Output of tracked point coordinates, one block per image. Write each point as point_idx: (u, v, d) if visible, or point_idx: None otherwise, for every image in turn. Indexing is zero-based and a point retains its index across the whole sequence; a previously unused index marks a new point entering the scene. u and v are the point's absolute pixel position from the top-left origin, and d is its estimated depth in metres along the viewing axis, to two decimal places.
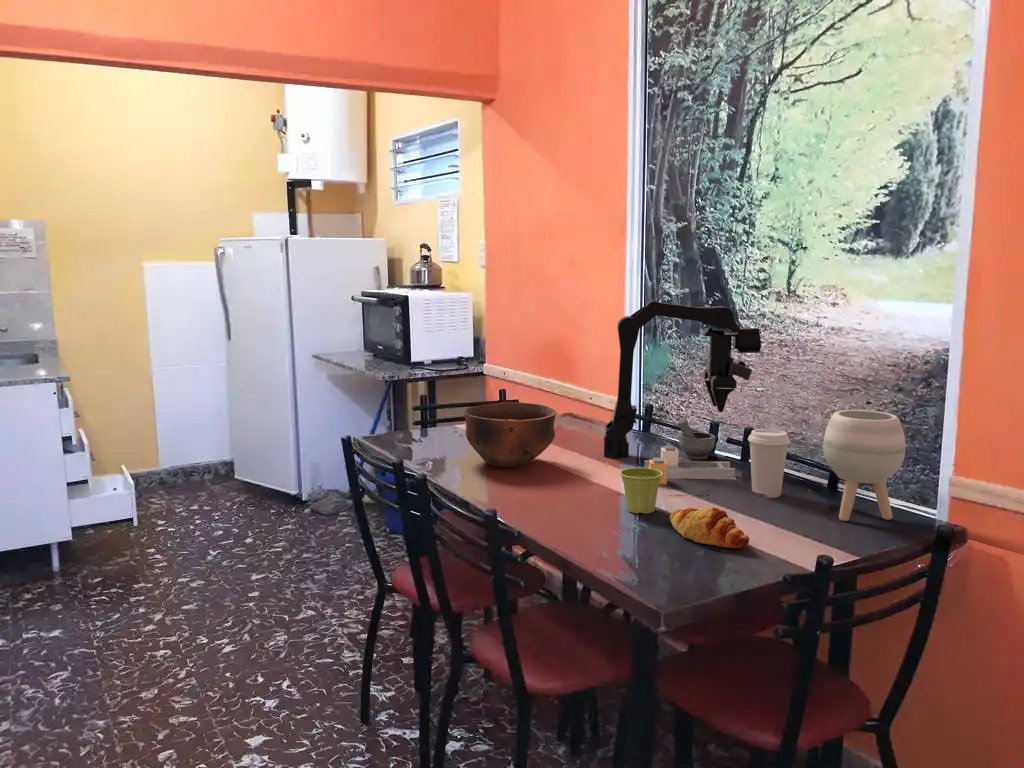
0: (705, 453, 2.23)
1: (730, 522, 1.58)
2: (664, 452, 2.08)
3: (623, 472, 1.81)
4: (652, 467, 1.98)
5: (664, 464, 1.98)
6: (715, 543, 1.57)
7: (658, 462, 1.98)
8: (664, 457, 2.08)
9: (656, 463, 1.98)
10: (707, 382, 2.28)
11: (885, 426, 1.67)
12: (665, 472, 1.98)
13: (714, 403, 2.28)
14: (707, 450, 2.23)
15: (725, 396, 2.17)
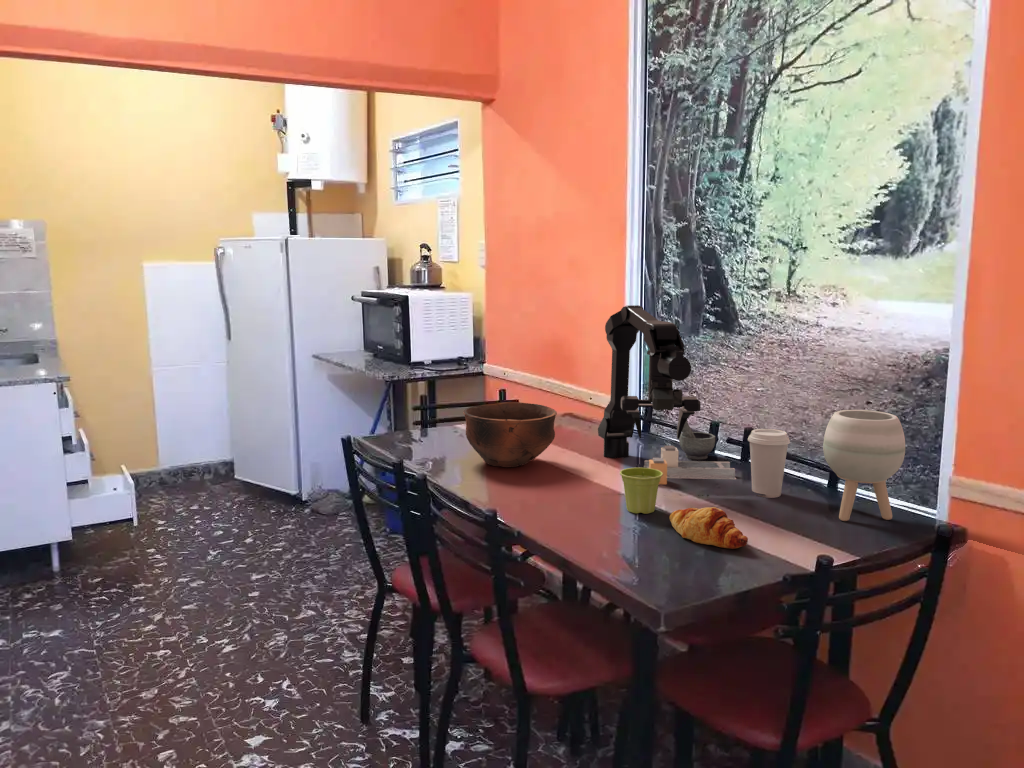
0: (705, 453, 2.23)
1: (729, 522, 1.58)
2: (664, 452, 2.08)
3: (623, 472, 1.81)
4: (652, 467, 1.98)
5: (664, 464, 1.98)
6: (714, 543, 1.57)
7: (658, 462, 1.98)
8: (664, 457, 2.08)
9: (656, 463, 1.98)
10: (679, 410, 2.00)
11: (885, 426, 1.67)
12: (665, 472, 1.98)
13: (677, 435, 1.99)
14: (707, 450, 2.23)
15: None
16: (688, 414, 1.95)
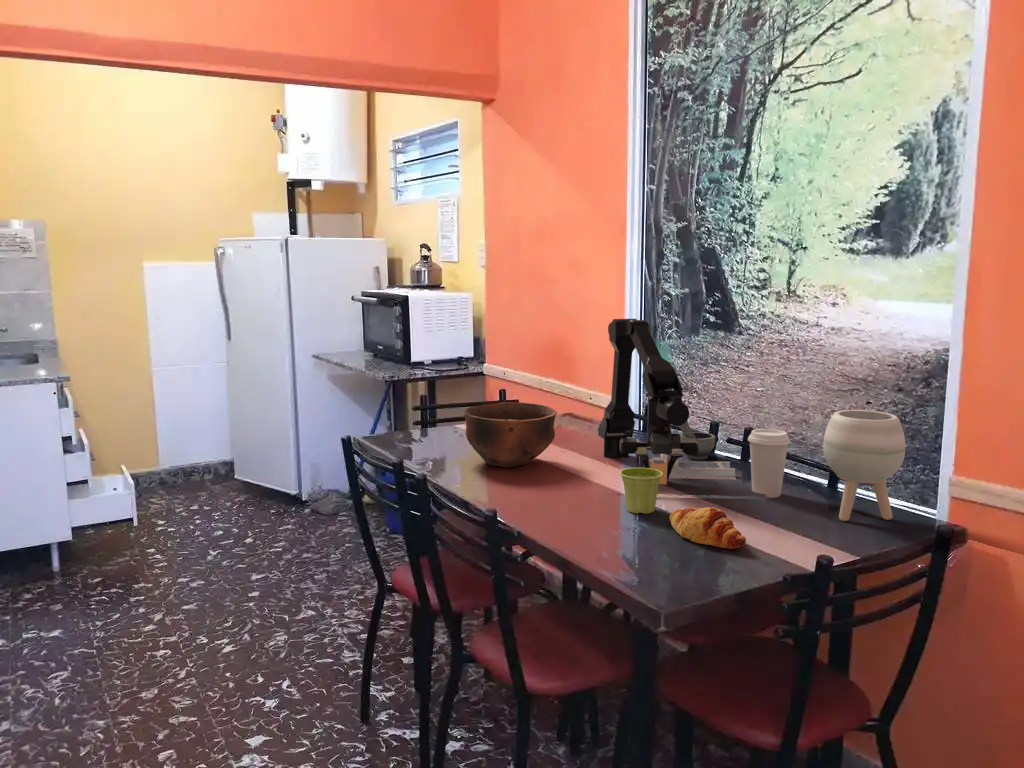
0: (705, 453, 2.23)
1: (728, 522, 1.58)
2: None
3: (623, 472, 1.81)
4: (652, 467, 1.98)
5: (664, 464, 1.98)
6: (712, 543, 1.57)
7: (658, 462, 1.98)
8: (664, 457, 2.08)
9: (656, 463, 1.98)
10: None
11: (885, 426, 1.67)
12: (665, 472, 1.98)
13: None
14: (707, 450, 2.23)
15: None
16: (676, 457, 1.97)
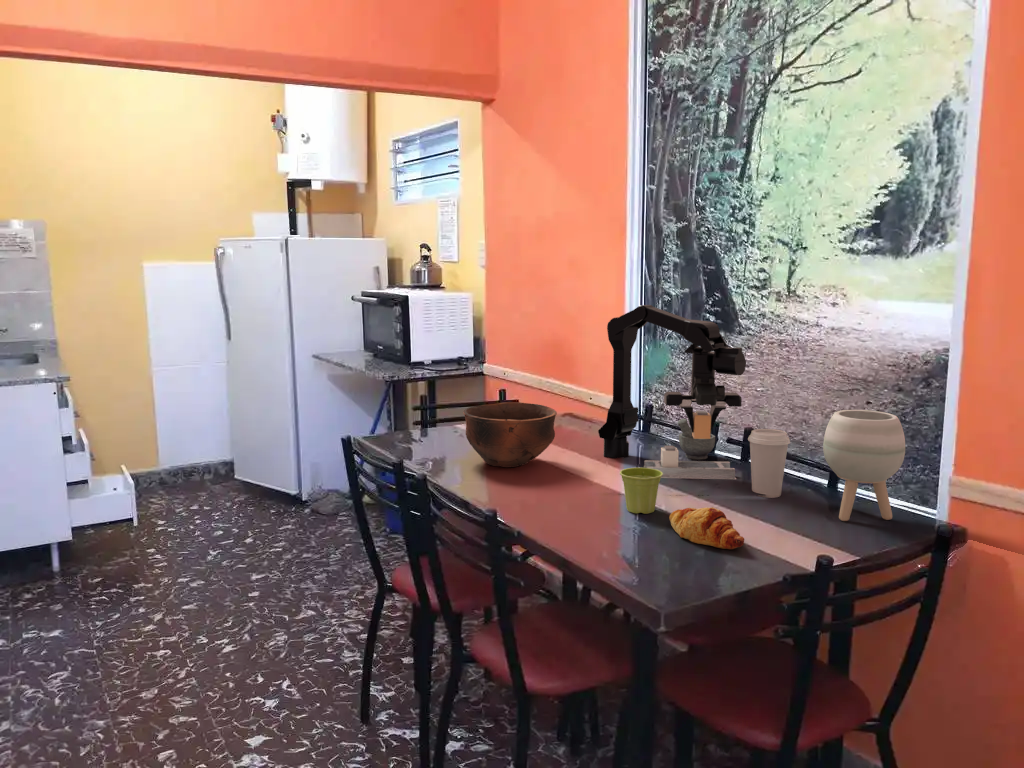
0: (705, 453, 2.23)
1: (726, 523, 1.58)
2: (664, 452, 2.08)
3: (623, 472, 1.81)
4: (696, 419, 2.05)
5: (708, 416, 2.05)
6: (710, 543, 1.57)
7: (702, 414, 2.06)
8: (664, 457, 2.08)
9: (700, 415, 2.05)
10: (711, 405, 2.09)
11: (885, 426, 1.67)
12: (709, 424, 2.05)
13: None
14: (707, 450, 2.23)
15: None
16: (720, 409, 2.04)
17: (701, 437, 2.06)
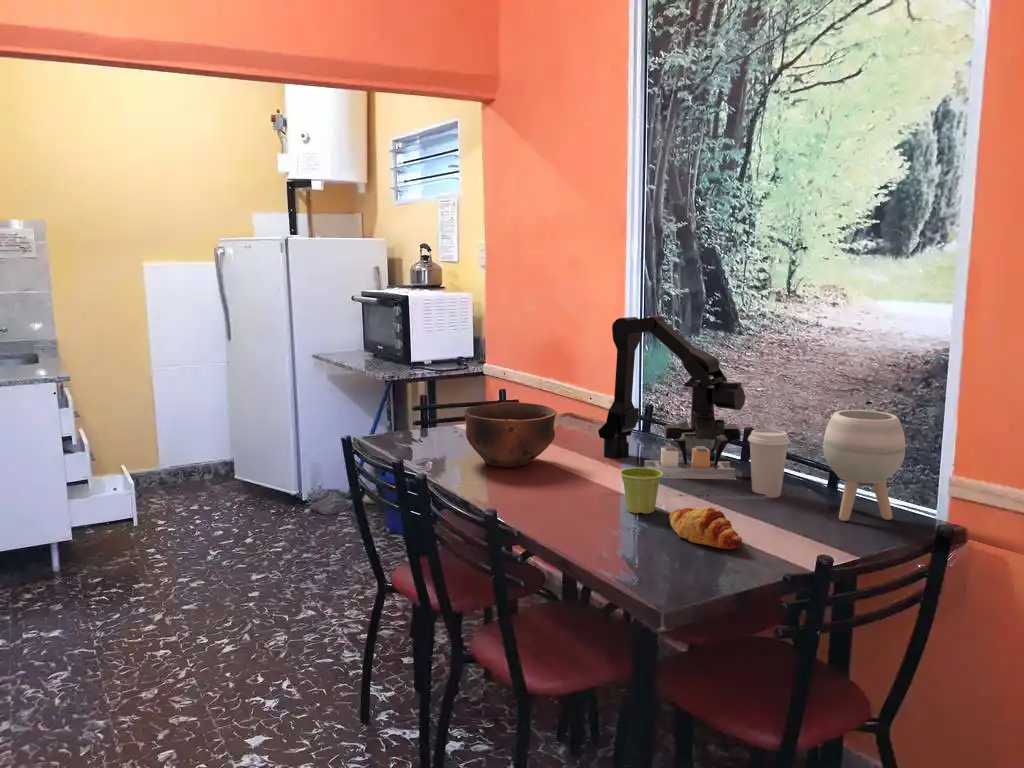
0: None
1: (725, 523, 1.58)
2: (664, 452, 2.08)
3: (623, 472, 1.81)
4: (695, 455, 2.07)
5: (707, 452, 2.07)
6: (708, 543, 1.57)
7: (701, 450, 2.07)
8: (664, 457, 2.08)
9: (699, 451, 2.07)
10: (716, 438, 2.10)
11: (885, 426, 1.67)
12: (708, 460, 2.07)
13: (714, 461, 2.09)
14: None
15: None
16: (726, 442, 2.05)
17: None
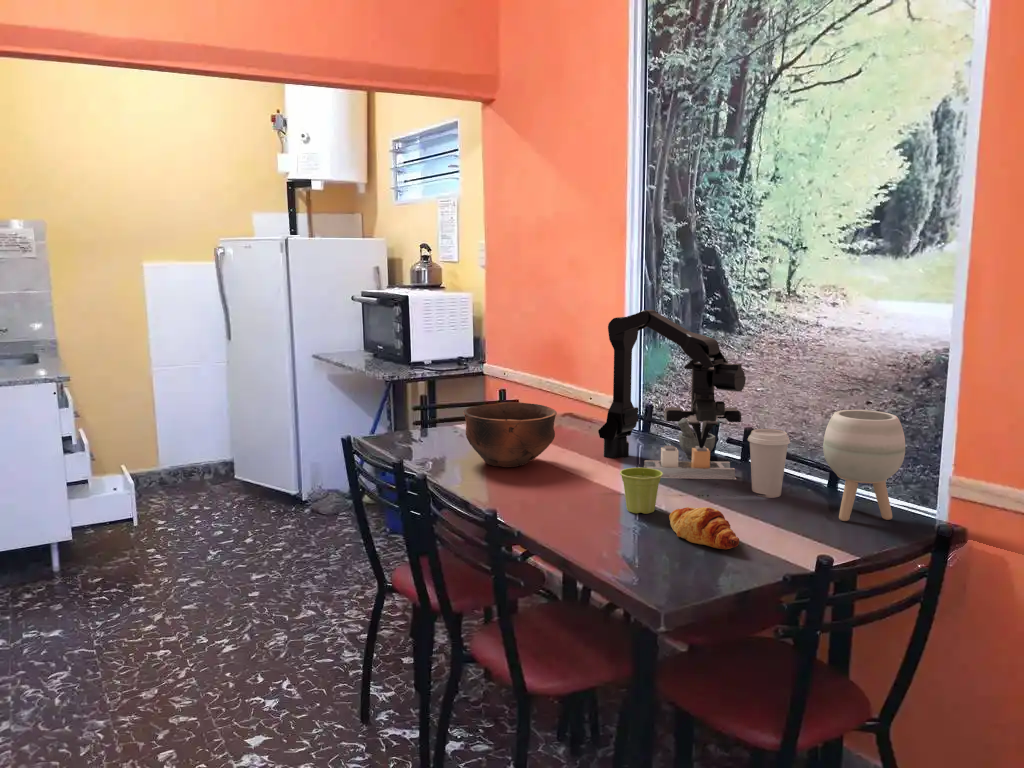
0: None
1: (722, 523, 1.57)
2: (664, 452, 2.08)
3: (623, 472, 1.81)
4: (695, 455, 2.07)
5: (707, 452, 2.07)
6: (706, 543, 1.57)
7: (701, 450, 2.07)
8: (664, 457, 2.08)
9: (699, 451, 2.07)
10: (703, 420, 2.10)
11: (885, 426, 1.67)
12: (708, 460, 2.07)
13: None
14: None
15: None
16: (712, 424, 2.05)
17: None
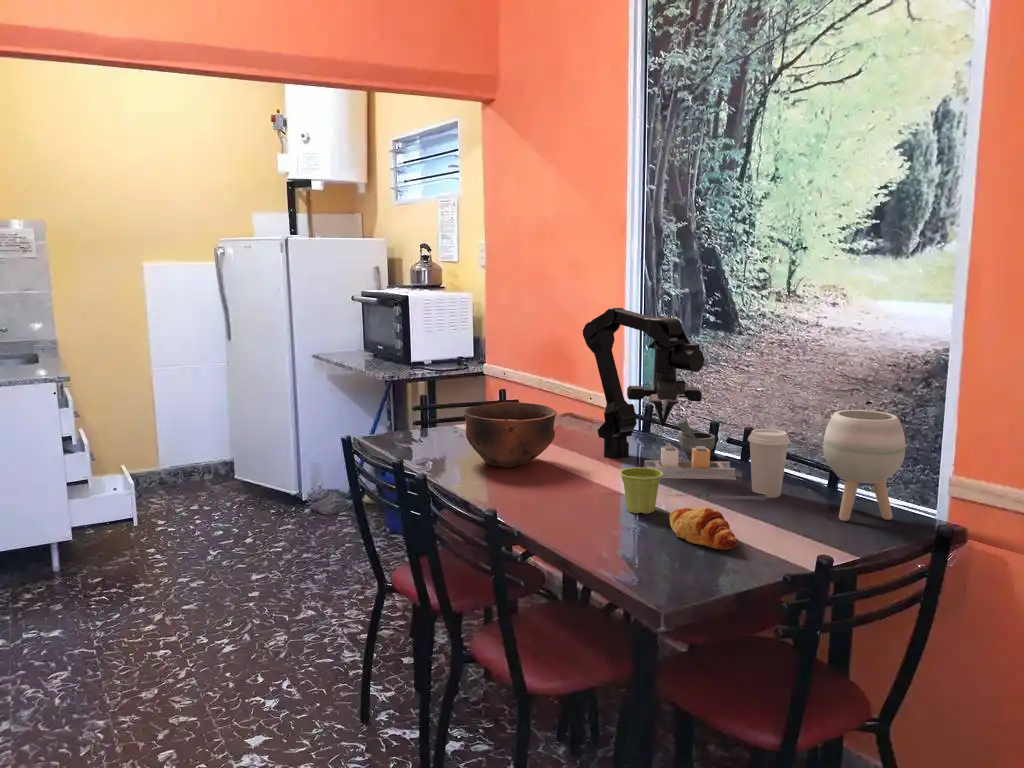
0: None
1: (721, 523, 1.57)
2: (664, 452, 2.08)
3: (623, 472, 1.81)
4: (695, 455, 2.07)
5: (707, 452, 2.07)
6: (704, 543, 1.57)
7: (701, 450, 2.07)
8: (664, 457, 2.08)
9: (699, 451, 2.07)
10: (665, 399, 2.14)
11: (885, 426, 1.67)
12: (708, 460, 2.07)
13: None
14: None
15: None
16: (673, 403, 2.09)
17: None
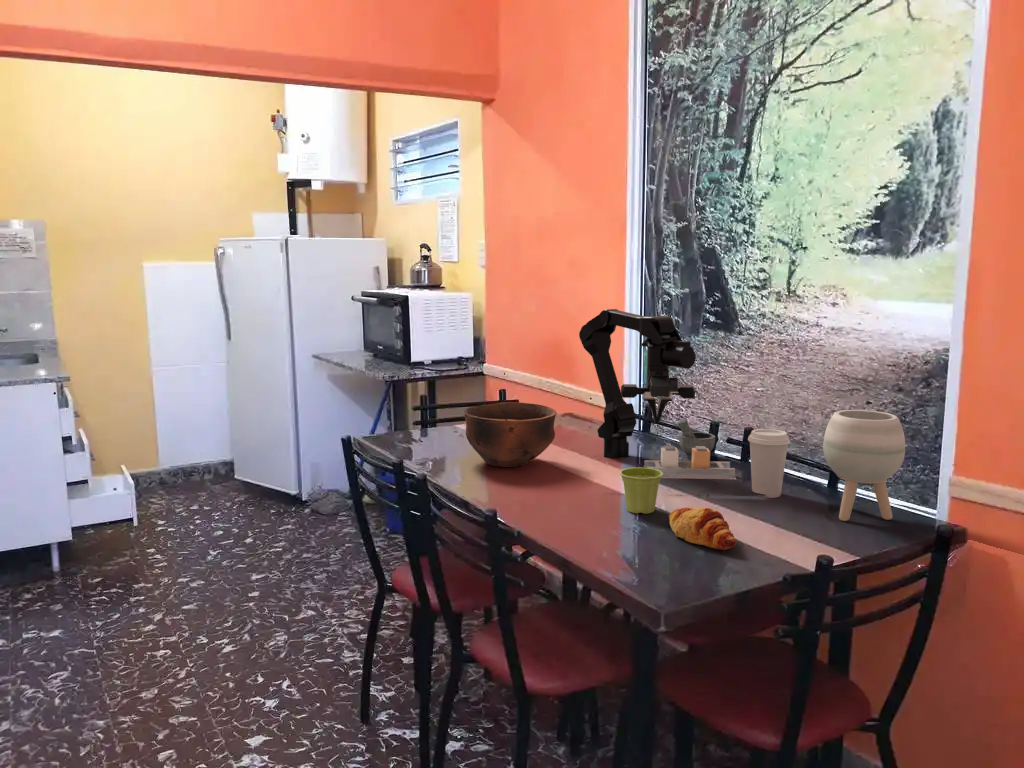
0: None
1: (720, 523, 1.57)
2: (664, 452, 2.08)
3: (623, 472, 1.81)
4: (695, 455, 2.07)
5: (707, 452, 2.07)
6: (703, 543, 1.57)
7: (701, 450, 2.07)
8: (664, 457, 2.08)
9: (699, 451, 2.07)
10: None
11: (885, 426, 1.67)
12: (708, 460, 2.07)
13: None
14: None
15: None
16: (666, 401, 2.10)
17: None
